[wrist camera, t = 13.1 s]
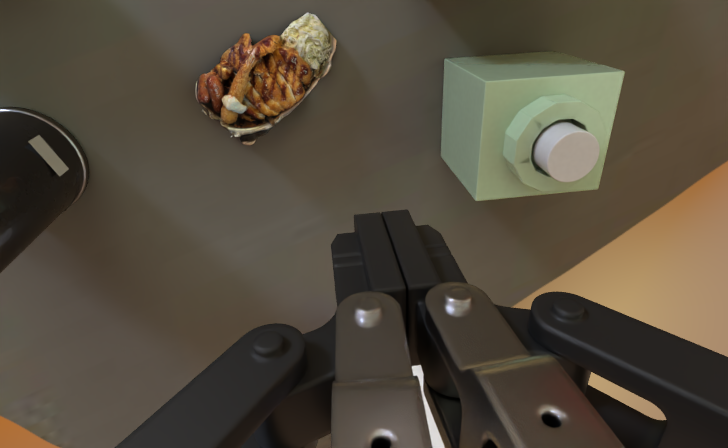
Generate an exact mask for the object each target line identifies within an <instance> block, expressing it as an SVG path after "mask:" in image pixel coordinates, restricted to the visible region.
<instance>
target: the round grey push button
mask: <svg viewBox="0 0 728 448" xmlns="http://www.w3.org/2000/svg"><path fill="white" fill-rule="evenodd" d="M599 152H600V148H599V143H598V141H597V139H596V137H595V136H594V135H593V134H591V133H589V132H588V131H586V130H584V129H582V128H580V127H578V126H576V125H574V124H572V123H569V122H560V123H556V124H553V125H551V126H549V127H548V128H546V129H545V130H544V131H543V132H542V133H541V134H540V135H539V137H538V138H537V140H536V142H535V145H534V149H533V157H534V160H535V163H536V164H537V165H538V167H540V168H541V169H542V170H543V171H545V172H546V173H547V174H548V175H550V176H551V177H552V178H553V179H555V180H557V181H560V182H573V181H576V180H579V179H581V178H582V177H584V176H585V175H587V174H588V173H589V172H590V171H591V170H592V168H593V167H594V166H595V164H596V162H597V160H598V157H599Z"/></svg>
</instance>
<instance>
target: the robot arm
mask: <svg viewBox="0 0 728 448" xmlns="http://www.w3.org/2000/svg"><path fill="white" fill-rule="evenodd" d="M88 179H89V167H88V162H87V158H86V156H85V153H84V151H83V149H82V148H81V146H80V144H79V143H78V142H77V140H76V139H75V138H74V137H73V136H72V134H71V133H70V132H69V131H68V130H66V129H65V128H64V127H63V126H62V125H60V124H59V123H57V122H56V121H54V120H53V119H51V118H49V117H47V116H45V115H43V114H41V113H38V112H36V111H33V110H29V109H24V108H18V107H2V108H0V273H1V272H2V271H3V270H4V269H5V268H6V267H7V266H8V265H9V264H10V263H11V262H12V261H13V260H14V259H15V258H16V257H18V256H19V255H20V254H21V253H22V252H23V251H24V250H25V249H26V248H27V247H28V246H29V245H30V244H31V243H32V242H33V241H34V240H35V239H36V238H37V237H38V236H39V235H40V234H41V233H42V232H43V231H44V230H45V229H46V228H47V227H48V226H49V225H50V224H51V223H52V222H53V221H54V220H55V219H56V218H57V217H58V216H59V215H60V214H61V213H62V212H64V211H65V210H66V209H67V208H68V207H69V206H71V205H72V204H73V203H74V202H75V201H76V200H77V199H78V198H80V196H81V195H82V194H83V192H84V191H85V189H86V187H87V184H88ZM354 227H355V232H354V233H344V234H337V236H336V237H335V239H334V241H333V242H332V244H331V250H332V260H333V270H334V281H335V291H336V300H337V310H336V313H335V315H334V316H333V317H332V319H331V320H330V321H329V322H328V323H326V324H325V325H323V326H322V327H320V328H318V329H316V330H314V331H311V332H308V333H306V334H303V335H302V334H301V332H300V331H299V330H297V329H296V328H294V327H292V326H289V325H286V324H268V325H263V326H260V327H257V328H255V329H253V330H251V331H249V332H248V333H246V334H245V335H244V336H243V337H241V338H240V339H239V340H238V341H237V342H236V343H234V344H233V345H232V346H231V347H230V348H229V349H228V350H226V351H225V352H224V353H223V354H222V355H221V356H220V357H218V358H217V359H216V360H215V361H214V362H213V363H212V364H210V365H209V366H208V367H207V368H206V369H205V370H203V371H202V372H201V373H200V374H199V375H198V376H197V377H195V378H194V379H193V380H192V381H191V382H190V383H189V384H187V385H186V386H185V387H184V388H183V389H182V390H181V391H179V392H178V393H177V394H176V395H175V396H174V397H172V398H171V399H170V400H169V401H168V402H167V403H166V404H164V405H163V406H162V407H161V408H160V409H159V410H158V411H156V412H155V413H154V414H153V415H152V416H151V417H150V418H148V419H147V420H146V421H145V422H144V423H143V424H141V425H140V426H139V427H138V428H137V429H136V430H135V431H133V432H132V433H131V434H130V435H129V436H128V437H127V438H125V439H124V440H123V441H122V442H121V443H120V444H119V445H117V446H116V447H115V448H316V446H317V443H318V439H320V438H322V437H324V436H326V435H328V434H330V433H331V448H433V447H432V442H431V437H430V432H429V427H428V422H427V417H426V412H425V407H424V402H423V397H422V392H421V387H420V382H419V379H418V376H413V371H412V366H417V365H421V368H422V371H423V392H424V396H425V398H426V401H427V403H428V406H429V408H430V411H431V413H432V416H433V419H434V421H435V424H436V426H437V429H438V431H439V434H440V436H441V439H442V442H443V444H444V447H445V448H728V357H726V356H724V355H722V354H719V353H717V352H714V351H712V350H709V349H707V348H704V347H702V346H700V345H697V344H695V343H692V342H690V341H687V340H685V339H683V338H680V337H678V336H675V335H673V334H670V333H668V332H666V331H663V330H661V329H658V328H656V327H653V326H651V325H649V324H646V323H644V322H641V321H639V320H636V319H634V318H631V317H629V316H627V315H624V314H622V313H619V312H617V311H615V310H612V309H610V308H607V307H605V306H602V305H600V304H598V303H595V302H593V301H590V300H588V299H585V298H583V297H580V296H578V295H575V294H571V293H566V292H548V293H544V294H541V295H539V296H538V297H536V298H535V299H534V301H533V302H532V306H531V310H528V309H520V308H510V307H503V306H498V305H495V304H493V302H492V301H491V300H490V298H489V297H488V295H487V294H486V293H485V292H484V291H482V290H481V289H479V288H478V287H476V286H473V285H471V284H468V283H467V281H466V279H465V278H464V276H463V274H462V272H461V270H460V268H459V267H458V265H457V263H456V261H455V259H454V257H453V256H452V255H451V252H450V250H449V248H448V246H446V243H445V241H444V239H443V237H442V235H441V234H440V233H439V232H438V231H436V230H435V229H433V228H432V227H430V226H429V225H422V226H415V224H414V222H413V220H412V218H411V215H410V213H409V211H408V210H399V211H388V212H382V213H380V212H379V213H369V214H359V215H354ZM591 372H593V373H595V374H597V375H599V376H601V377H603V378H605V379H607V380H609V381H611V382H613V383H614V384H616V385H618V386H620V387H622V388H624V389H626V390H628V391H630V392H632V393H634V394H636V395H638V396H640V397H642V398H644V399H646V400H648V401H650V402H652V403H653V404H655V405H656V406H657V407H658V408H659V409H661V411H662V412H663V413H664V415H665V417H666V419H667V420H663V421H662V420H656V419H652V418H650V417H648V416H646V415H644V414H642V413H641V412H639V411H637V410H635V409H633V408H631V407H629V406H627V405H625V404H624V403H622V402H620V401H618V400H616V399H614V398H612V397H610V396H608V395H607V394H605V393H603V392H601V391H599V390H597V389H595V388H593V387H591V386H590V385H588V381H589V378H590V374H591Z"/></svg>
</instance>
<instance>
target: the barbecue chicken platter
mask: <svg viewBox="0 0 728 448" xmlns="http://www.w3.org/2000/svg"><path fill="white" fill-rule="evenodd" d="M251 41H252V40H251V39H250V36H249V34H248V33H245V34H243V35H242V37H241V38H240V40H239V41H238V43H237V44H236V45H233V46H232V47H230V48H229V49H228V50H227V51H225V53H224V54H223V55H222V57H221V61H220V62H221V63H219V64H218V65H216V67H214V69H213V70H211V72H210V73H207V75H206V73H205V74H202V75H201V76H200V77H199V78H198V80H197V82H196V99H197V101H198V102H199V103H200V104H201V105H202V106H204V107H205V108H207V110H208V112H209V117H210V118H211V119H213V118H215V119H217V120H218V119H219V120H220V121H221V122H220V123H221V125H222V126H223V127H224V128H226V129H228V131H229V132H230V133H231V134H233V135H235V137H240V135H242V136H241V137H240V141H241V142H242V143H243V144H245V145H252V144H253V143H255V141H256V139H257V137H259V136H263V135H265V134H266V133H268V131H269V130H270V129H272V128H273V127H274V126H275V125H276V124H277V123H278V122H279V121H280V120H281V119H282V118H283V117H285V116H287V115H288V114H290V113H291V112H292V111H293V109H295V108H296V107H297V106H298V105H299V104H300V103H301V102H302V101H303V99H304V98H305V97H306V96H307V95H309V94H310V92H311V90H312V89H313V88H314V87H315V86H316V85H317V83H318V80H319V79H320V78H322V77H324V76H325V75H326V74H327V73H328V72H329V71H330V69H331V62H332V56H333V54H334V52H335V50H336V39H335V38H334V37H333V36H332V35H331V33H330V32H329V31H328V30H327V28H326V27H325V26H324V25H323V24H322V22H321V21H320V20H319V19H318V18H317V16H316V15H313V14H309V13H306V14H305V15H303V17H300V18H299V19H298V20H296V21H293V22H292V23H291V24H290V25H289V27H288V28H286V30H285V31H284V32H283V33H282V35H281V36H277V35H272V36H268V37H265V38H264V39H262V40H261V41H259V42H258V43H257V44H255V45H253V46H251ZM202 112H203V113H204V114H205V115H207V114H206V112H205V111H204V110H202ZM236 126H237V127H236ZM230 137H231V138H232V137H233V136H230Z"/></svg>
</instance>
